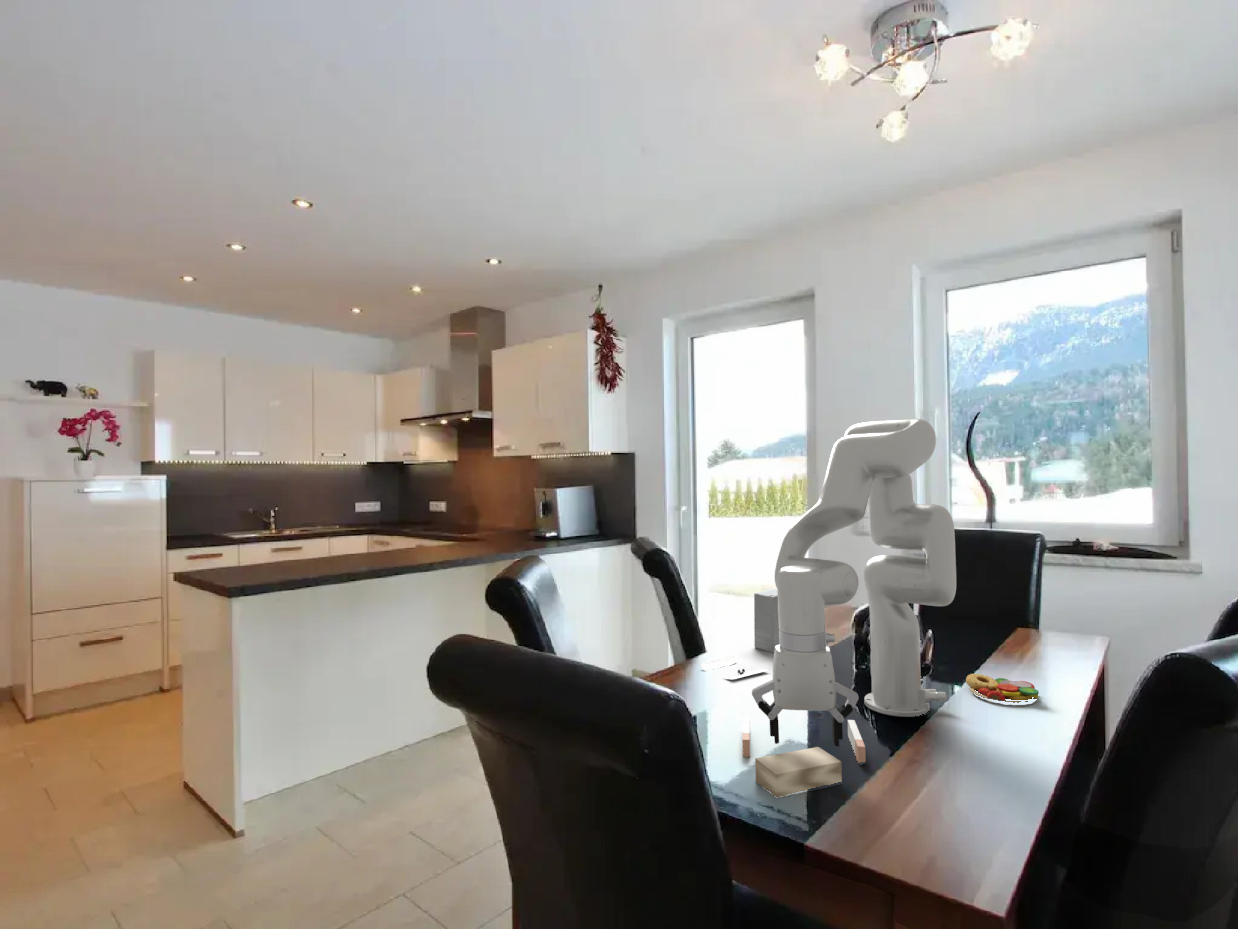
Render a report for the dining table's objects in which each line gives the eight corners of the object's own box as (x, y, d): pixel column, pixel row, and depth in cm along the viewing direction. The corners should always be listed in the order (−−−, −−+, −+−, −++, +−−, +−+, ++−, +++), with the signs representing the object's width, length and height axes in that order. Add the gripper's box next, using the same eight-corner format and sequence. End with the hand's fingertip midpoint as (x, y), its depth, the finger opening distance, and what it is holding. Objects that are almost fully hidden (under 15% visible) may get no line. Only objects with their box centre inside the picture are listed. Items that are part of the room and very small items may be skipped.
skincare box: (770, 642, 190) (768, 587, 190) (791, 647, 184) (790, 590, 185) (752, 648, 184) (751, 591, 184) (774, 653, 179) (773, 595, 179)
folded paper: (732, 684, 155) (732, 675, 155) (700, 671, 165) (699, 663, 165) (769, 675, 162) (769, 666, 162) (735, 663, 172) (735, 655, 172)
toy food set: (961, 686, 150) (961, 671, 150) (1025, 688, 148) (1025, 674, 148) (981, 706, 137) (980, 691, 137) (1051, 710, 134) (1051, 694, 134)
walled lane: (854, 736, 123) (854, 720, 123) (865, 764, 111) (865, 746, 111) (743, 730, 127) (743, 714, 127) (742, 756, 115) (742, 739, 115)
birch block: (818, 770, 110) (818, 746, 110) (841, 787, 104) (841, 761, 104) (755, 783, 106) (755, 758, 106) (776, 800, 100) (775, 774, 100)
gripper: (852, 635, 112) (856, 734, 112) (749, 633, 116) (753, 730, 116) (860, 648, 105) (863, 754, 105) (749, 646, 108) (753, 749, 109)
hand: (805, 741), depth 111 cm, fingers open, 9 cm apart
